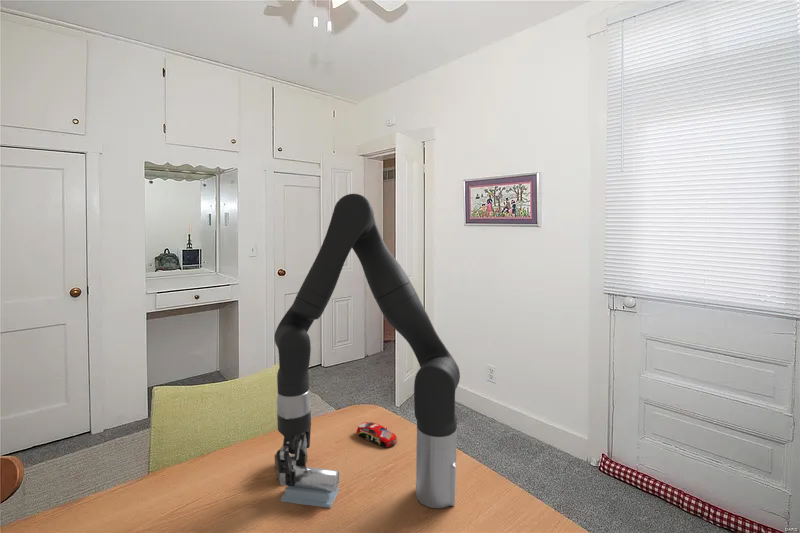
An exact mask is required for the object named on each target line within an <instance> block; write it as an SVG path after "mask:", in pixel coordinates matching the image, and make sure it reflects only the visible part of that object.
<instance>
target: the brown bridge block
mask: <svg viewBox="0 0 800 533" xmlns="http://www.w3.org/2000/svg"><path fill="white" fill-rule="evenodd" d="M306 440H307V439H306ZM282 449H283V445H282V446H281V447H279V449H278V450H282ZM290 456H295V454H291V455H290ZM307 463H308V453H307V454H306V464H307ZM291 465H292V461H291ZM274 472H275V474H274V475H275V476H274V477H275V478H274V479H275V480H280V473H279V467H278V461H277V452H276V453H275V454H274Z"/></svg>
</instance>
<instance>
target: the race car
mask: <svg viewBox="0 0 800 533" xmlns="http://www.w3.org/2000/svg"><path fill="white" fill-rule="evenodd" d="M356 435H357V436H358V437H360V439H363V440H366V441H369V442H370V443H373V444H375V445H378V446H381V447H383V448H384V449H386V448H390V447H393V446H394V445H396V444H397V442H398V441H397V440H398V439H397V435H396V434H395V433H393V432H392V431H390V430H388V427H385V426H383V425H381V424H378V423H377V422H376V423H375V422H371V421H370V422H368V421H367V422H362V423H360V424H359V425H358V426H357V429H356Z"/></svg>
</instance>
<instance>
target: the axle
mask: <svg viewBox="0 0 800 533" xmlns="http://www.w3.org/2000/svg"><path fill="white" fill-rule="evenodd" d="M291 466H292V465H291ZM295 472H296V484H295V485H294V486H293V487H301V488H309V489H316V490H324V491H332V492H335V491H336V490H337V487H339V483H340V471H339V470H338V469H337V470H335V469H327V468H321V467H311V466H306V467H304V466H296V467H295ZM279 484H280V486H286V487H287V485H286V483H285V473H280V479H279Z"/></svg>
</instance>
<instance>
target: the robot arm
mask: <svg viewBox="0 0 800 533" xmlns="http://www.w3.org/2000/svg"><path fill="white" fill-rule="evenodd" d="M351 250H353V251H354V254H356V256H357V258H358V260H359V263H360V264H361V267H362V270H363V273H364V276H365V278H366V281H367V284H368V286H369V289H370V292H371V293H372V296H373V297H374V300H375V302H376V303H377V305H378V307H379V310H380V311H381V314H382V315H383V316H384V318H385V319H386V321H387V322H388V323H389V325H390V326H391V327H393V328H394V330H395V331H396V332H398V334H400V335H401V336H402V337H403V338H404V340H406V342H407V343H408V344H409V346H410V348H411V349H412V350H411V351H413V354H414V355H415V358H416V360H417V362H418V365H419V367H420V368H419V369H418V370H417V372H416V374H415V378H414V385H413V396H414V397H413V399H414V400H413V401H414V402H413V403H414V404H413V406H414V408H413V409H414V417H415V419H416V450H415V451H416V455H415V456H416V458H415V459H416V460H415V461H416V465H415V469H416V470H415V472H416V473H415V477H416V480H415V496H416V499H417V501H418V502H419V503H420V504H422V505H423V506H425V507H427V508H431V509H443V508H446V507H447V508H448V507H450V506H451V507H454V506H455V504H456V490H457V489H456V487H457V484H456V481H457V476H456V475H457V436H458V435H457V433H458V432H457V428H458V418H457V414H456V390H457V388H458V386H459V383H460V380H461V372H460V369H459V366H458V364H457V362H456V360H455V359H454V358H453V355H452V354H451V353H450V352H449V350H448V348H447V347H446V346H445V344H444V342H443V341H442V340H441V338H440V336H439V335H438V333H437V331H436V330H435V328H434V326H433V323H432V321H431V319H430V317H429V315H428V313H427V311H426V309H425V307H424V306H423V304H422V301H421V300H420V297H419V295H418V293H417V291H416V289H415V288H414V285H413V284H412V282H411V280H410V278H409V276H408V275H407V273H406V271H405V270H404V269H403V268H402V266H401V264H400V263H399V262H398V261H397V259H396V257H395V256H394V255H393V254H392V253H391V251H390V250H389V248H388V247H387V245H386V243H385V241H384V238H383V236H382V234H381V231H380V229H379V227H378V225H377V221H376V219H375V214H374V209H373V206H372V204H371V202H370V201H369V199H367V197H365V196H363V195H362V194H360V193H349V194H345V195H344V196H342V197H341V198H339V200H338V201H337V202H336V203H335V205H334V209H333V212H332V216H331V219H330V222H329V225H328V227H327V230H326V234H325V237H324V239H323V242H322V243H321V247H320V249H319V251H318V254H316V258H315V259H314V262H313V263H312V265H311V267H310V268H309V271H308V273H307V275H306V277H305V278H304V280H303V281H302V282H303V283H302V285H300V286H301V287H300V288H299V291H298V292H297V294H296V297H295V299H294V301H293V303H292V304H291V306H290V308H288V310H287V311H286V313H285V314H284V315H283V317H282V318H281V320H280V322H279V324H278V325H277V327H276V329H275V331H274V342H275V346H276V347H277V349H278V350H277V351H278V363H279V364H278V366H279V367H278V370H277V374H276V375H277V376H276V381H277V384H276V386H277V396H276V417H277V418H276V419H277V420H276V421H277V423H276V424H277V430H278V432H279V433H280V434H281V435H282V437H283V443H282V446H283V449H282V450H279V449H278V450H277V451H276V453H277V461H278V467H279V473H285V483H286V485H287V486H294V485H295V484H296V472H295V467H296V466H304V467H307V463H306V454H307V455H308V449H310V445H311V431H312V430H311V429H312V428H311V427H312V413H311V412H312V407H311V406H312V405H311V393H310V376H309V367H310V361H311V350H312V346H311V344H312V343H311V339H310V336H309V334H308V332H309V330H310V328H311V327H312V325H313V324H314V322H315V320H318V319H320V318H321V316H322V315H323V314H324V312H325V309H326V307H327V306H328V304H329V301H330V300H331V297H332V296H333V293H334V291H335V289H336V286H337V283H338V281H339V279H340V275H341V272H342V270H343V267H344V264H345V263H346V260H347V258H348V256H349V254H350V251H351ZM306 439H307V440H306ZM291 454H295V456H290V455H291ZM291 461H292V466H291ZM287 486H286V487H287Z"/></svg>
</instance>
